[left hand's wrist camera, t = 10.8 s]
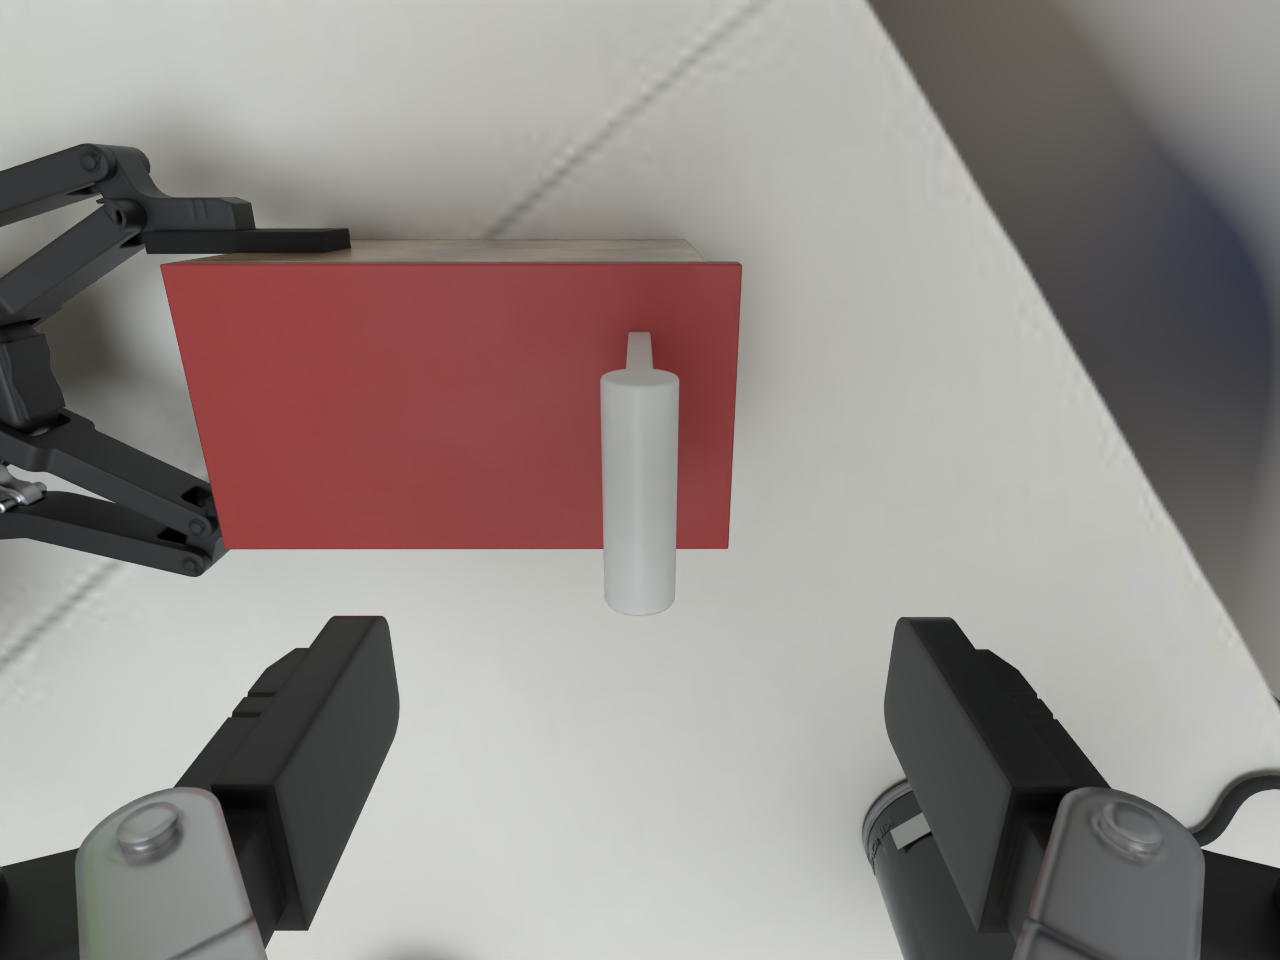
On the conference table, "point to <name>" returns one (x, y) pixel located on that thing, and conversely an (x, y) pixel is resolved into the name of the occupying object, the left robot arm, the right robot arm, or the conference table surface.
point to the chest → (486, 252)
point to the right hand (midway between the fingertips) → (356, 376)
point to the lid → (468, 406)
